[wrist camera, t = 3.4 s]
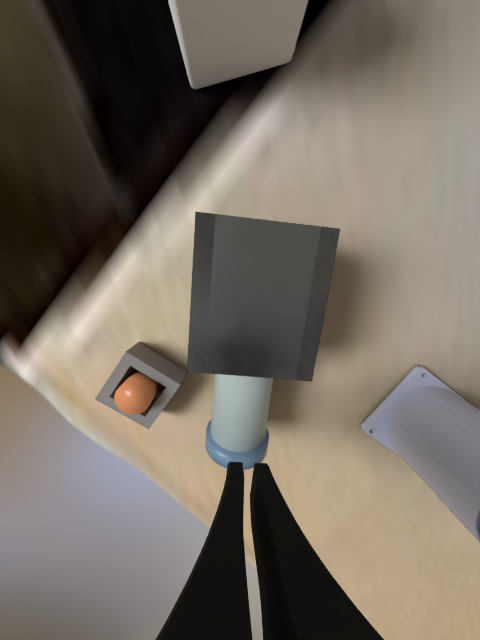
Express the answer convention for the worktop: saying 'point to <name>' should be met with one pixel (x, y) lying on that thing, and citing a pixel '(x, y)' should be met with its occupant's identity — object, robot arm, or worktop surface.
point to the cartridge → (239, 420)
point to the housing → (258, 296)
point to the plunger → (136, 393)
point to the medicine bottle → (235, 36)
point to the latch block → (154, 369)
